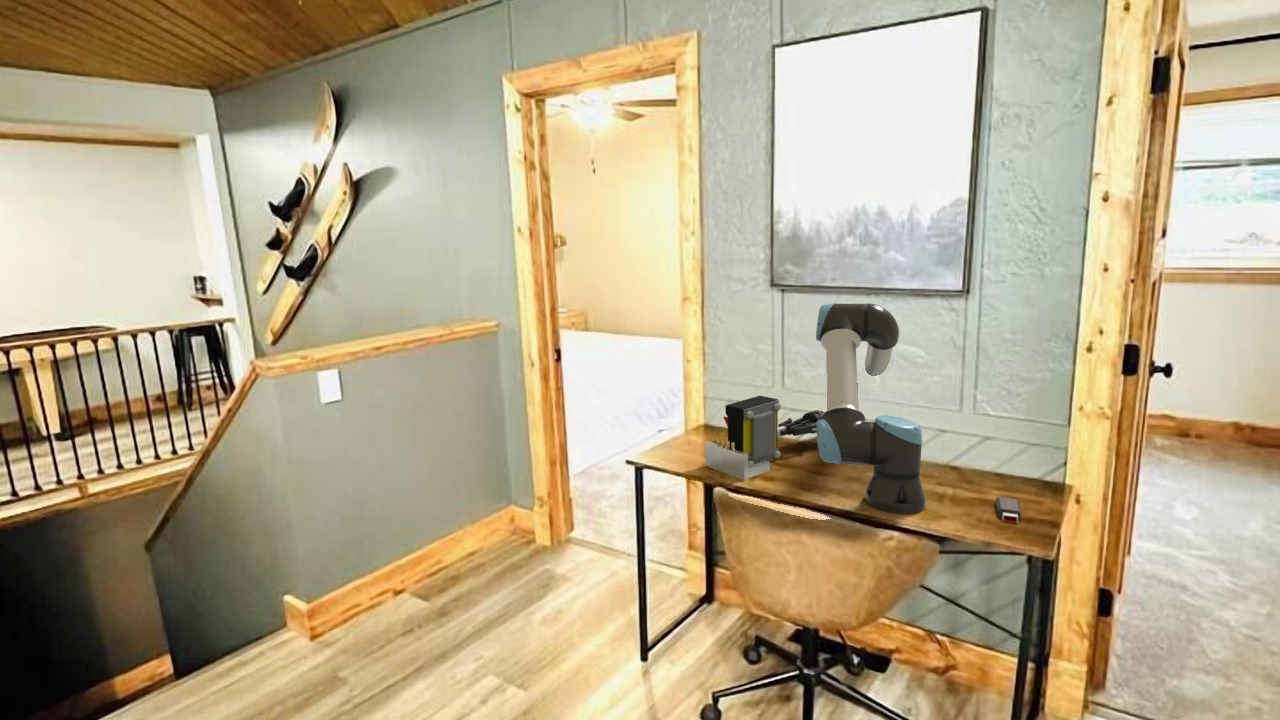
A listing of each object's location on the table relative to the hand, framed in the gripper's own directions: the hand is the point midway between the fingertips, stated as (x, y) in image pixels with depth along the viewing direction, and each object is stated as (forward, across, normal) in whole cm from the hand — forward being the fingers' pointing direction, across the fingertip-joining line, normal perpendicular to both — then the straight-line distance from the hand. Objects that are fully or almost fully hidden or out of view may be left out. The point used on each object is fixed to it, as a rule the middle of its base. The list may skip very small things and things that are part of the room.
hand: (771, 434), depth 215 cm
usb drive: (-11, -70, -9) cm, 71 cm away
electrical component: (+8, +1, -8) cm, 11 cm away
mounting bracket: (+16, 0, -8) cm, 17 cm away
